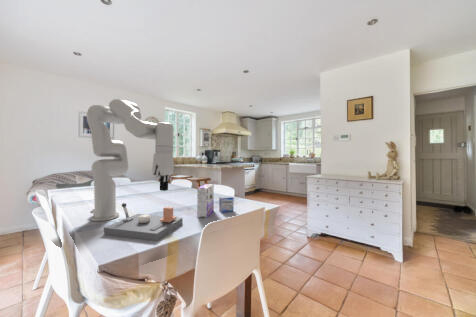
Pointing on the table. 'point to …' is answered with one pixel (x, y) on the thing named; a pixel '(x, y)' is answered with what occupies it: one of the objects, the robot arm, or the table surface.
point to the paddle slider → (167, 215)
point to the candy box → (205, 200)
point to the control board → (142, 228)
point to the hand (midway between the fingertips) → (163, 190)
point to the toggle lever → (125, 210)
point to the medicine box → (226, 204)
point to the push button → (143, 218)
